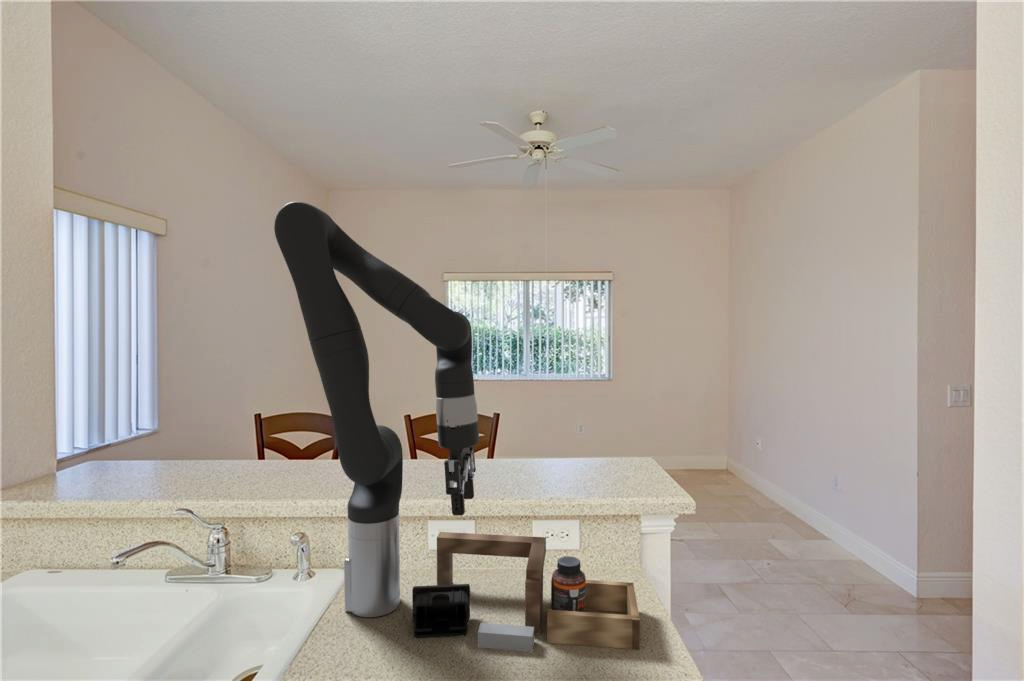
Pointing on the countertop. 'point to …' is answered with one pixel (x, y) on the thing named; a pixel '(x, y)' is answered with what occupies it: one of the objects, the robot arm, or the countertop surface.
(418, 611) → the black box
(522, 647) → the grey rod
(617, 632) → the light wood frame
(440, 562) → the walnut crook
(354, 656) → the countertop surface
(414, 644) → the countertop surface
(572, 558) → the supplement bottle
